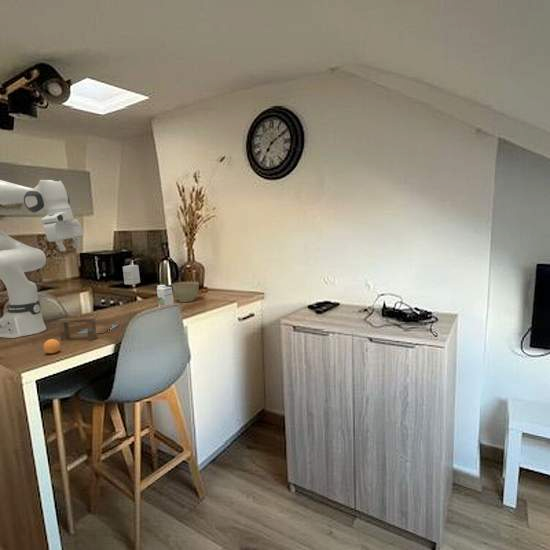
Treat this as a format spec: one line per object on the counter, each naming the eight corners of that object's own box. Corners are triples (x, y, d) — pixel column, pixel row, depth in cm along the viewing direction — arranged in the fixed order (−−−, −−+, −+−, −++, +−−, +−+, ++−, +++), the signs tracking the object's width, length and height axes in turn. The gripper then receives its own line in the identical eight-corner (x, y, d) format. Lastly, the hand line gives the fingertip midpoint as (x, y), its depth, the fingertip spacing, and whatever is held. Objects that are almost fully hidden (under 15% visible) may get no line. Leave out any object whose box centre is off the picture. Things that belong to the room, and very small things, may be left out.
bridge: (93, 340, 153) (90, 319, 152) (61, 340, 155) (58, 319, 153) (97, 338, 156) (94, 317, 155) (66, 338, 158) (63, 317, 156)
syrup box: (174, 313, 194) (172, 286, 192) (165, 315, 189) (163, 288, 187) (167, 312, 197) (165, 285, 195) (158, 314, 192) (156, 287, 190)
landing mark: (76, 333, 163) (76, 333, 163) (93, 325, 176) (93, 325, 176) (103, 333, 162) (103, 333, 162) (118, 325, 175) (118, 324, 175)
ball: (41, 355, 137) (38, 341, 136) (51, 350, 143) (49, 337, 142) (54, 355, 137) (52, 341, 136) (64, 350, 142) (62, 337, 141)
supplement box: (131, 282, 304) (129, 264, 302) (140, 282, 301) (138, 264, 299) (124, 284, 296) (122, 266, 293) (133, 284, 293) (131, 266, 290)
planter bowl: (197, 303, 216) (195, 285, 214) (170, 304, 216) (168, 286, 214) (202, 297, 232) (201, 280, 230) (177, 298, 232) (175, 281, 230)
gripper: (68, 217, 163) (77, 247, 165) (37, 220, 143) (48, 254, 145) (82, 214, 162) (90, 245, 165) (52, 217, 142) (62, 251, 145)
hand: (70, 249), depth 155 cm, fingers open, 8 cm apart
